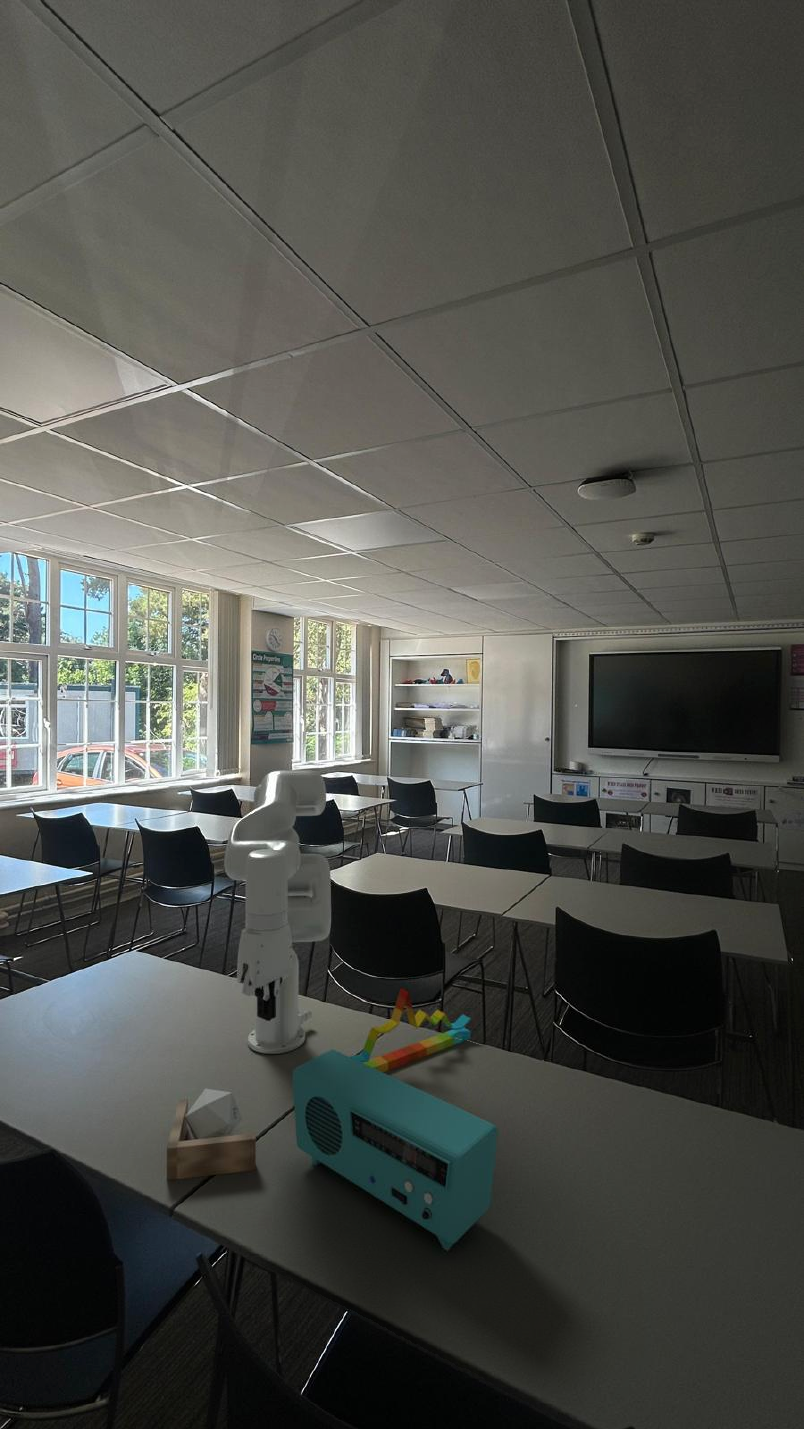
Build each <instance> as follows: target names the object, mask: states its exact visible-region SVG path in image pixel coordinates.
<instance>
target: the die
mask: <svg viewBox="0 0 804 1429" xmlns="http://www.w3.org/2000/svg"><path fill="white" fill-rule="evenodd" d="M241 1114H242V1113H241V1112H240V1109H239V1107H238V1104H237V1102H236V1099H235V1097H234V1095H233V1093H232V1092H230V1091H223V1090H217V1089H210V1088H204V1090H203V1091H202V1092H201V1094H200V1095H199V1097H198V1098H197V1099H196V1101H195V1102H194V1103H193V1105H192V1106H191V1108H190V1109H188V1113H187V1115H186V1116H185V1118H186V1120H187V1123H188V1127H189V1130H190V1132H191V1134H192V1137H193V1140H196V1139H205V1138H215V1137H224V1136H233V1135H232V1134H233V1133H234V1132H235V1130H236V1129H237V1128H238V1127H239V1124H240V1123H241V1122H242V1119H243V1117H242V1115H241Z"/></svg>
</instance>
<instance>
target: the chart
mask: <svg viewBox="0 0 804 1429" xmlns="http://www.w3.org/2000/svg"><path fill="white" fill-rule="evenodd" d="M404 1008H405V1010H406V1014H407V1018H408V1023H409V1025H411V1026H412V1027H414V1028H416V1029H419V1028H420V1026H421V1025H422V1023H423V1022H424V1020H425V1019H426V1020H427V1021H428V1022H430V1023H431V1024H432V1025H435V1026H437V1025H438V1024H439V1023H440V1022H441V1020H442V1022H443V1024H444V1025H445V1027H448V1028H449V1029H451V1030H448V1031H445V1032H442V1033H438V1034H437V1035H436V1034H435V1036H431V1037H429V1038H426V1039H423V1040H421V1041H417V1042H415V1043H412V1044H410V1045H407V1046H404V1047H401V1048H399V1049H395V1050H393V1051H391V1052H387V1053H385V1054H382V1055H379V1056H377V1057H375V1058H372V1059H370V1058H371V1055H372V1052H373V1050H374V1047H375V1044H376V1042H377V1039H378V1036H379V1035H381V1034H389V1033H391V1032H393V1030H394V1029H396V1028H397V1027H398V1026H399V1025H400V1022H401V1017H402V1016H403V1012H404ZM414 1012H415V1011H414V1008H413V1004H412V1001H411V996H410V993H409V991H406V989H403V988H400V990H399V992H398V995H397V999H396V1003H395V1006H394V1009H393V1012H392V1015H391V1018H390V1019H389V1020H388V1021H386V1022H385V1023H383V1025H381V1026H379V1025H378V1026H372V1027H371V1028H370V1030H369V1033H368V1035H367V1038H366V1040H365V1043H364V1045H363V1048H362V1051H361V1054H356V1055H350V1056H349V1057H351V1058H353V1059H355V1060H357V1061H359V1062H361V1063H363V1064H366V1065H368V1066H370V1067H372V1068H374V1069H376V1070H378V1071H381V1072H383V1073H385V1072H387V1071H390V1070H393V1069H396V1068H398V1067H400V1066H403V1065H406V1064H408V1063H410V1062H413V1061H416V1060H419V1059H421V1058H424V1057H426V1056H429V1055H432V1054H434V1053H437V1052H439V1051H441V1050H444V1049H447V1048H449V1047H451V1046H454V1045H456V1044H459V1043H463V1042H465V1041H468V1040H470V1039H471V1030H469V1029H467V1028H466V1025H468V1023H469V1022H470V1021H471V1017H468V1016H467V1015H465V1014H463V1013H462V1014H461V1015H460V1016H459V1017H458V1019H456V1020H455V1022H450V1019H448V1017H447V1015H446V1013H444V1012H443V1011H440V1010H439V1009H436V1010H435V1011H434V1013H432V1014H431V1016H429V1014H428V1013H426V1012H425V1011H423V1010H421V1009H418V1011H417V1012H416V1014H415V1013H414ZM446 1036H448V1037H446ZM452 1037H453V1038H452ZM455 1038H458V1039H455ZM459 1039H462V1040H459ZM464 1040H465V1041H464Z"/></svg>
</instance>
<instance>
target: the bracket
mask: <svg viewBox="0 0 804 1429" xmlns="http://www.w3.org/2000/svg"><path fill="white" fill-rule="evenodd" d="M188 1104H189V1101H188V1098H183V1099H178V1102H177V1106H176V1110H175V1113H174V1114H175V1115H174V1119H173V1122H172V1126H171V1130H170V1134H169V1139H168V1142H167V1147H166V1181H173V1180H175V1181H176V1180H184V1179H191V1178H201V1177H207V1176H214V1175H216V1176H217V1175H224V1174H234V1173H242V1172H249V1171H250V1172H251V1171H256V1163H257V1162H256V1158H257V1157H256V1156H257V1155H256V1152H257V1151H256V1148H257V1147H256V1146H257V1145H256V1144H257V1140H256V1139H257V1136H256V1132H252V1133H243V1134H236V1135H235V1134H233V1135H231V1136H224V1137H215V1138H205V1139H196V1140H195V1139H190V1140H186V1137H187V1136H186V1135H187V1132H188V1127H189V1125H188V1123H187V1120H186V1118H185V1116H186V1115H187V1113H188V1112H189V1107H188V1106H189V1105H188Z"/></svg>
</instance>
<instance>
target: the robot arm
mask: <svg viewBox="0 0 804 1429" xmlns="http://www.w3.org/2000/svg"><path fill="white" fill-rule="evenodd" d="M326 804H327V789H326V783H325V780H324V777H323V776H322V775H321V773H320V772H318V771H316V770H310V769H308V770H307V769H306V770H304V769H303V770H302V769H301V770H284V769H283V770H275V771H274V770H273V771H271V772H269V773H267V774H266V775H264V777H263V779H262V780H261V782H260V784H259V785H257V786H256V788H255V789H254V792H253V806H254V807H253V808H254V810H252V811H251V812H249V813H248V814H246V815H245V816H243V817H242V818H240V819H239V820H237V822H236V823H234V825H233V827H232V828H231V830H230V832H229V835H228V840H227V844H226V848H225V852H224V853H225V854H224V860H223V866H224V870H225V873H226V875H227V877H228V878H230V879H231V880H234V881H238V882H239V881H245V928H243V929H242V930H241V935H240V938H239V942H238V943H239V945H238V953H237V964H236V965H237V966H236V969H237V970H236V980H237V983H239V984H242V989H241V990H242V991H241V993H242V995H244V996H246V997H251V996H254V1003H255V1005H254V1007H255V1009H254V1029H253V1030H252V1031H251V1032H250V1033H249V1035H248V1036H247V1045H248V1047H249V1048H251V1050H252V1051H255V1052H257V1053H260V1054H267V1055H276V1054H277V1055H278V1054H284V1053H288V1052H291V1051H293V1050H296V1049H298V1048H299V1047H300V1046H301V1045H303V1043H304V1042H305V1040H306V1032H305V1030H304V1028H302V1025H303V1024H304V1022H305V1021H306V1022H307V1020H310V1019H312V1017H313V1013H312V1011H311V1010H310V1009H307V1010H305V1011H302V1012H301V1013H300V1011H299V974H300V973H299V971H300V970H299V959H298V955H297V953H296V951H295V950H294V949H293V943H301V942H302V943H303V942H304V943H305V942H307V943H310V942H320V941H323V940H325V939H326V938H328V936H329V935H330V932H331V927H332V926H331V925H332V893H331V891H332V890H331V888H332V886H331V881H332V880H331V878H332V877H331V869H330V868H331V867H330V863H329V860H328V859H327V858H326V856H324V855H323V854H319V853H301V850H300V837H299V834H298V833H297V831H296V830H295V829H294V825H295V824H296V823H295V822H296V819H297V817H313V816H320V815H321V814H322V813H323V812H324V810H325V808H326ZM289 896H291V897H289ZM295 896H297V897H295ZM298 896H302V897H298ZM307 896H308V897H307Z"/></svg>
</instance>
